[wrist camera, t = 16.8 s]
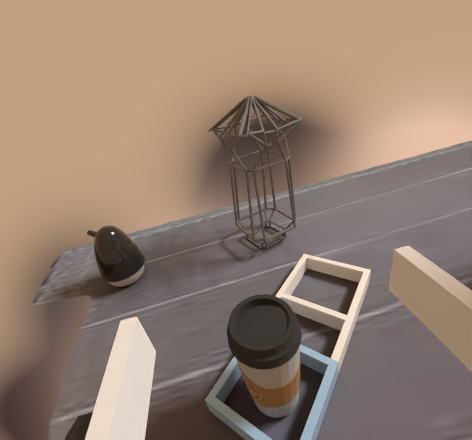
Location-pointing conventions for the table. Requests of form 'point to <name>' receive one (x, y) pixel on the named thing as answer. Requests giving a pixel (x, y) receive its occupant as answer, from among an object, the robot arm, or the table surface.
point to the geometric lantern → (246, 106)
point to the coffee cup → (267, 352)
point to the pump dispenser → (117, 256)
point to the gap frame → (301, 347)
